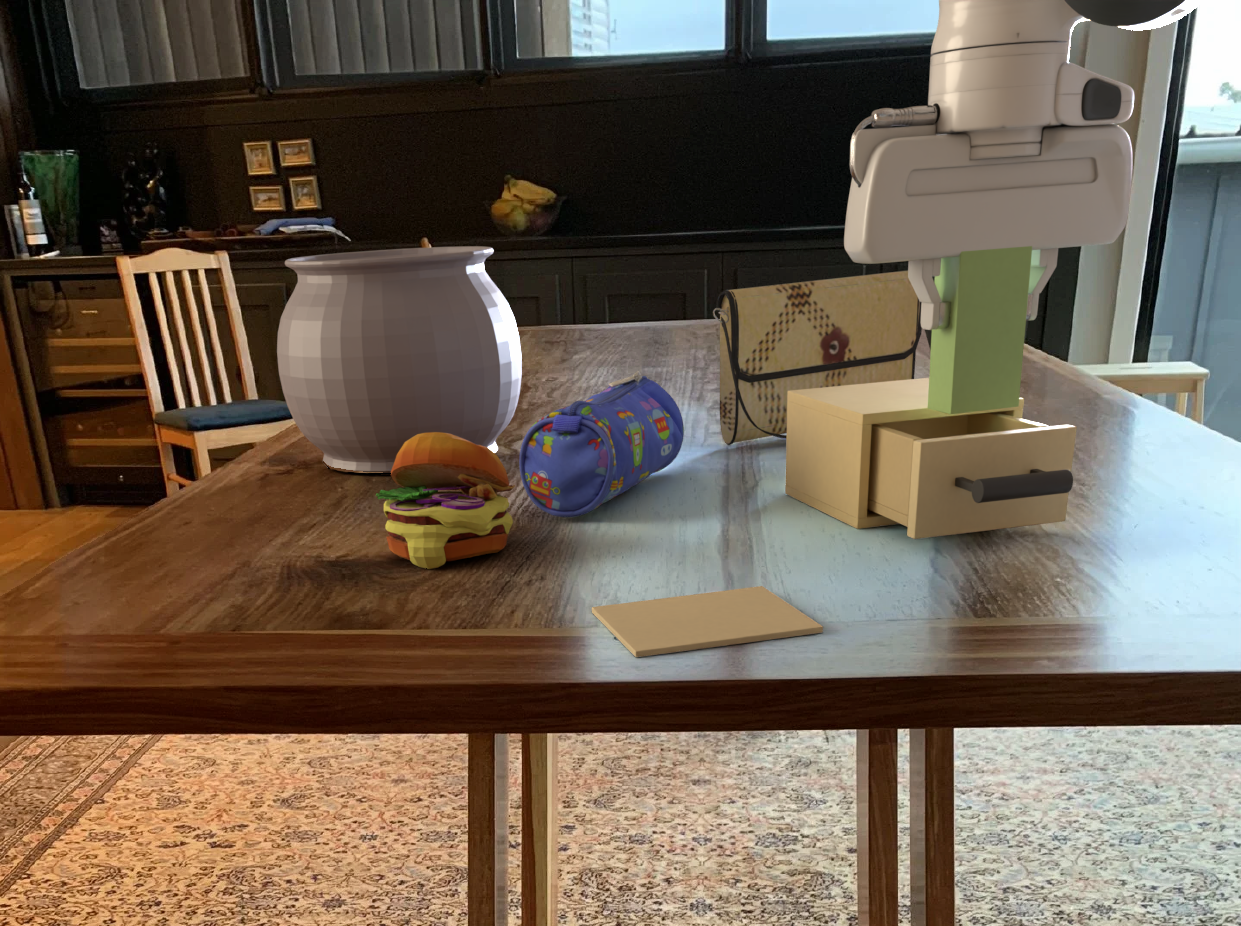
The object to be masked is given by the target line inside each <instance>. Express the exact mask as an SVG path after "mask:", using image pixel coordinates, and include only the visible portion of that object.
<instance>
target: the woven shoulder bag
mask: <svg viewBox="0 0 1241 926" xmlns="http://www.w3.org/2000/svg"><path fill="white" fill-rule="evenodd" d="M921 303H922V302H920V301H919V299H918V297H917V295H916V293H915V290H914V288H913V286H912V284H911V282H910V280H909V278H908V270H900V271H893V272H882V273H872V274H865V275H864V274H863V275H854V276H846V277H836V278H828V279H817V280H808V281H801V282H800V281H799V282H792V283H782V284H772V285H763V286H753V287H745V288H735V289H724V290H723V291H721V292H720V293H719V295H718V296H717V300H716V304H715V306H716V308H713V310H712V315H713V318H715V320H716V321H718V322H719V424H720V432H721V436H722V437H721V438H722V440H723V442H724V444H726V445H727V446H731V445H733V444H734V443H739V442H745V441H751V440H756V439H763V438H767V437H776V438H781V439H786V437H787V401H788V400H787V393H788V391H790V390H801V389H812V388H823V387H833V386H844V385H855V384H866V383H877V382H887V381H898V380H909V379H915V372H916V357H917V355H916V354H917V348H918V346H919V343H920V339H921V336H922V331H923V330H924V333H925V336H926V340H927V343H928V348H929V351H930V352H931V336H932V330H926V329H922V327H921V323H920V322H921ZM716 311H718V314H719V318H718V317H717V315H716V313H715V312H716Z"/></svg>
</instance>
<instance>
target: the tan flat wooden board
mask: <svg viewBox="0 0 1241 926" xmlns="http://www.w3.org/2000/svg"><path fill="white" fill-rule="evenodd" d="M591 613H592V614H593V615H594V616H595V618H597V619H598V620H599V621H600V623H602V625H603V626H605V628H606V629H608V631H609V632H610V633H612V635H613V636H614V637H615V638H616V639H617V640H618V641H619V642H620V643H621V644H622V645H623V646H624V647H625V648H626V649H627V651H629V652H630V653H631V654H632V655H633V656H634V657H635V658H643V657H650V656H658V655H666V654H673V653H680V652H687V651H695V650H703V649H711V648H718V647H725V646H734V645H740V644H747V643H755V642H762V641H771V640H777V639H785V638H793V637H801V636H809V635H815V634H822V633H824V626H823V625H822V624H820V623H819V622H817V621H815V620H814V619H812V618H811V617H809V616H808V615H806V614H805V613H804V612H802V611H801V610H799V609H798V608H797V607H795V606H794V605H792V604H790V603H789V602H787V601H785V600H784V599H782V597H780V596H778V595H777V594H775V593H774V592H772V591H770V589H767V587H765V586H763V585H758V586H751V587H743V588H742V587H741V588H734V589H733V588H732V589H727V590H717V591H709V592H702V593H693V594H685V595H678V596H670V597H661V598H653V599H645V600H637V601H630V602H629V601H628V602H622V603H613V604H605V605H598V606H592V607H591Z"/></svg>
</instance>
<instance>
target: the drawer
mask: <svg viewBox="0 0 1241 926" xmlns="http://www.w3.org/2000/svg"><path fill="white" fill-rule="evenodd" d="M871 425H872V428H871V447H870V466H869V485H868V503H867V509H869V510H871V511H873V512H875V513H878V514H880V515H882V516H884V517H886V518H889V519H891V520H893V521H895V522H898V523H900V524H899V525H902V526H904V527H906V528H907V529H906V536H907V537H909V538H911V539H912V540H920V539H929V538H936V537H937V538H938V537H944V536H946V537H947V536H954V535H962V534H970V533H971V534H972V533H979V532H987V531H995V530H996V531H997V530H1003V529H1004V530H1005V529H1012V528H1021V527H1029V526H1036V525H1045V524H1052V523H1053V524H1055V523H1063V522H1066V519H1067V512H1068V511H1067V509H1068V502H1069V495H1070V492H1071V490H1072V488H1073V486H1074V475H1073V473H1072V470H1073V462H1074V454H1075V445H1076V437H1077V430H1078V429H1077V426H1075V425H1071V424H1060V425H1059V424H1058V425H1050V426H1049V425H1047V424H1044V423H1040V422H1036V421H1032V420H1029V419H1024V418H1022V419H1021V418H1017V417H1013V416H1009V415H1005V414H1001V413H997V412H990V413H980V414H970V415H960V416H950V417H940V418H929V419H919V420H909V421H899V422H889V423H879V424H871Z"/></svg>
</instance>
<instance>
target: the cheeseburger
mask: <svg viewBox="0 0 1241 926" xmlns="http://www.w3.org/2000/svg"><path fill="white" fill-rule="evenodd" d="M390 477H391V479H392V481H393V482H394V483H395V484H396V485H397V486H400V487H398V488H392V489H389V490H384V489H380V490H379V492H376V493H375V497H377V500H381V499H384V500H385V501H384V503H383V513H384V516H385V517H386V518H387V521H386V523H385V525H384V528H385V530H386V531H387V534H388V536H387V535H386V542H387V545H388V548H389V551H390V552H392V553H393V554H394V555H396V556H397V557H399V558H401V559H404V560H408V561H410V562H411V564H413V565H415V566H416V567H419V568H422V569H426V568H427V570H433V569H437V568H439V567H441V566H444V565H445V564H446V562H453V561H457V560H462V559H467V558H473V557H479V556H483V555H486V554H487V555H488V554H494V553H498V552H501V551H502V550H503V549H504V548H505V547H506V546H507V541H508V537H509V533H510V531H511V528H512V526H513V523H514V520H513V516H512V515H511V514H510V513H509V512H508V511H507V509H509V507H510V502H509V498H507V497H505V496H504V495H501V494H498V493H501V492H502V493H504V492H511V491H512V490H513V489H514V488H515V487H516V484H510V480H509V477H508V473H507V470H506V468H505V466H504V464H503V462H502V461H501V460H500V458H499V456H498V455H497V454H496V452H495V453H494V452H493V451H491V450H490V449H489V448H487V447H484V446H482V445H476V444H474V443H472V442H470V441H468V440H465V439H463V438H460V437H458V436H455V435H452V434H449V433H441V432H429V433H421V434H417V435H415V436H414V437H412V438H411V439H409V440H407V441H406V442H405V443H404V444H403V446H402V447H401V449H400V450H399V452H398V454H397V456H396V459H395V462H394V465H393V467H392V470H391V474H390Z"/></svg>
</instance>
